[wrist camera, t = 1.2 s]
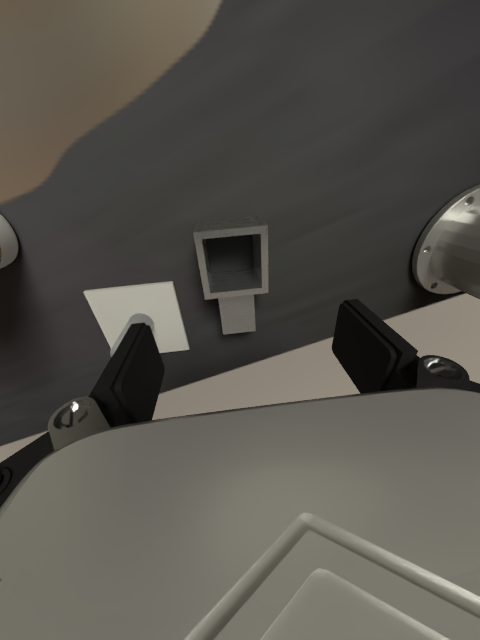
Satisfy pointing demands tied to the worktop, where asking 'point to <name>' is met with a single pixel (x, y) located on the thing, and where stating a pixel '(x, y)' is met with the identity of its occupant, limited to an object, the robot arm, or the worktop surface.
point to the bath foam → (7, 243)
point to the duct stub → (140, 313)
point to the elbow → (239, 284)
